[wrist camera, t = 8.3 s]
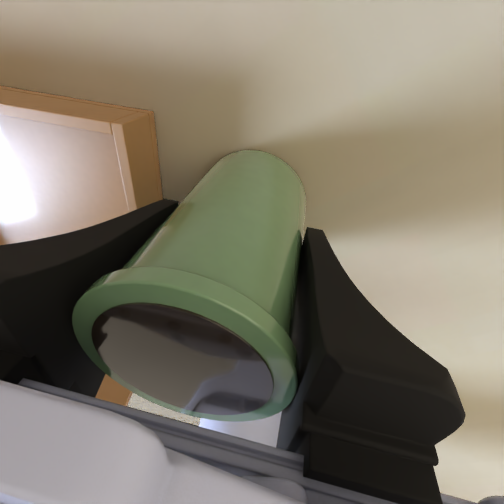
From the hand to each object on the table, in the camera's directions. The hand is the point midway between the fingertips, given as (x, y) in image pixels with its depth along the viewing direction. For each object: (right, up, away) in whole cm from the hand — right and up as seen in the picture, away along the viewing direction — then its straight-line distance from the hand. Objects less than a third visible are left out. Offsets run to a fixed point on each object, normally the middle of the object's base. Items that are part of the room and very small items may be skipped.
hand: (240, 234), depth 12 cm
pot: (+1, +2, +2) cm, 3 cm away
